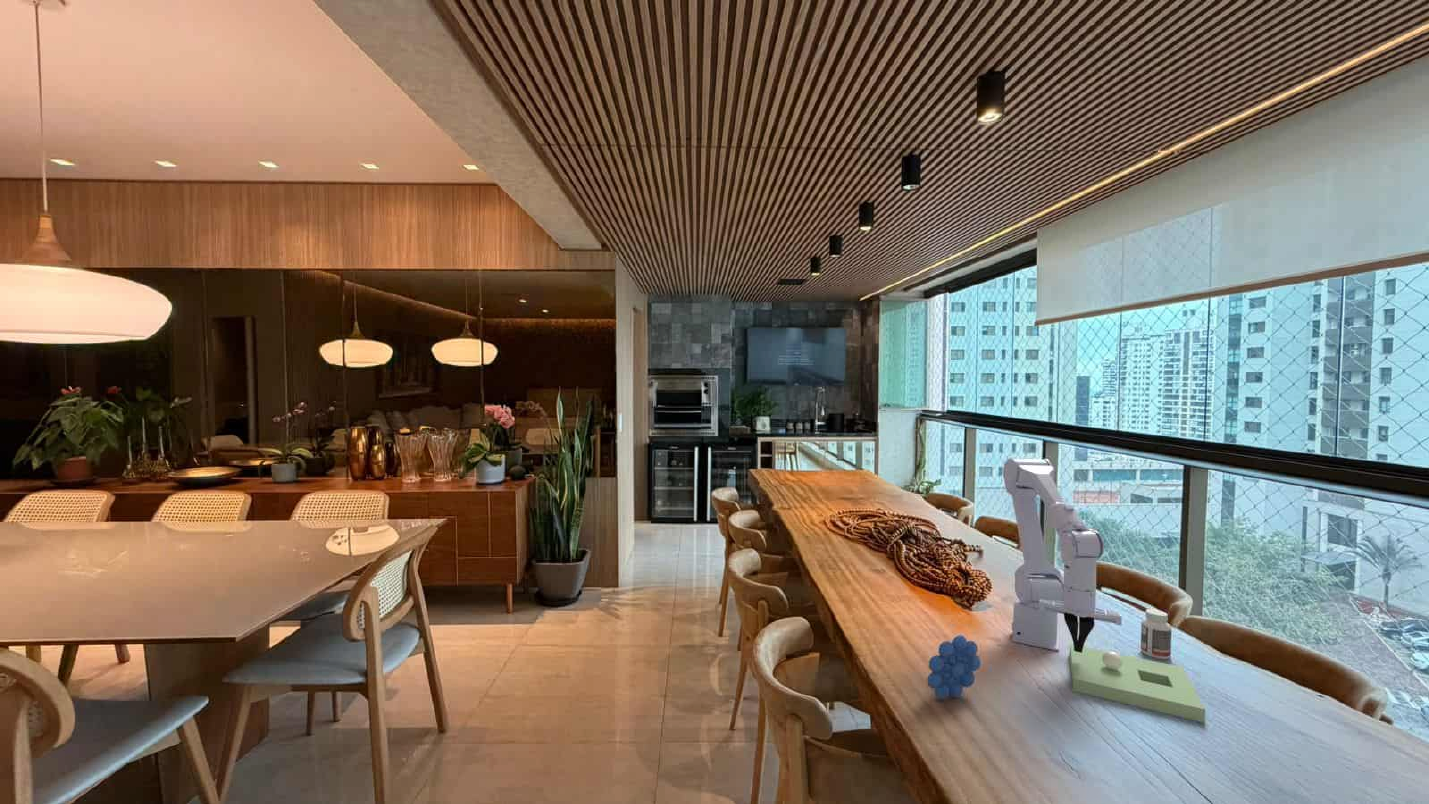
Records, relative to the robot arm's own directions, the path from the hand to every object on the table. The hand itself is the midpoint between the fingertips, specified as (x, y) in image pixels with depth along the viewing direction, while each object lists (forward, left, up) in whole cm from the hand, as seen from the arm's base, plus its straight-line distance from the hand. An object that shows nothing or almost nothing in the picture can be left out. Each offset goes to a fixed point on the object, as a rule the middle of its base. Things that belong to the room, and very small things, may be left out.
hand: (1077, 650), depth 117 cm
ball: (+6, 0, -1) cm, 6 cm away
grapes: (-22, -24, -5) cm, 33 cm away
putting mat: (+9, 0, -5) cm, 10 cm away
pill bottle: (+16, +20, -5) cm, 26 cm away
